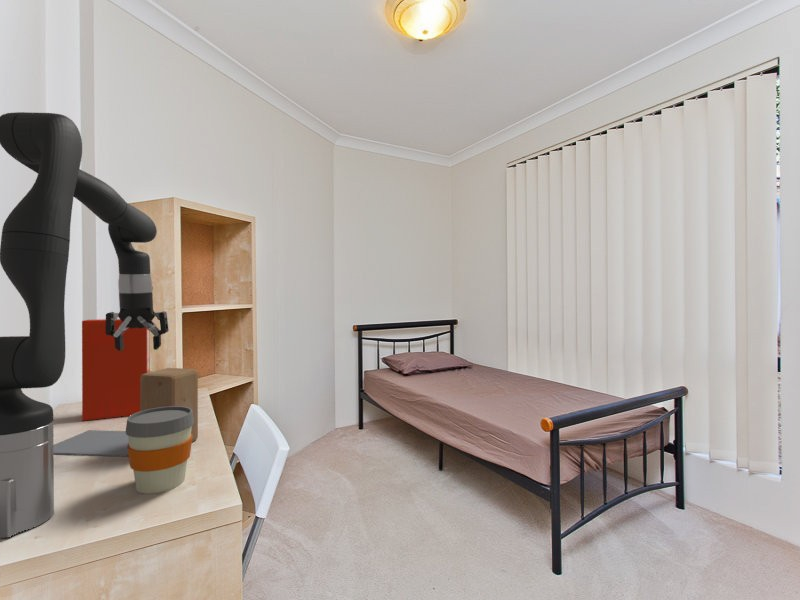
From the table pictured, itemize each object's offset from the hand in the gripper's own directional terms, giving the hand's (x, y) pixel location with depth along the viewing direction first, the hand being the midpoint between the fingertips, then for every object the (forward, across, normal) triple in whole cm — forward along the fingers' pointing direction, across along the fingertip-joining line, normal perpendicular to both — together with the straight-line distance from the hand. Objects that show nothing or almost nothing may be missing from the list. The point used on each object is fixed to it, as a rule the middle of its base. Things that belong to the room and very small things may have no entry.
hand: (138, 349), depth 107 cm
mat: (+25, -9, -1) cm, 27 cm away
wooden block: (+25, +8, -7) cm, 27 cm away
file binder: (+28, -16, +27) cm, 42 cm away
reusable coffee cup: (+23, +13, -30) cm, 40 cm away
